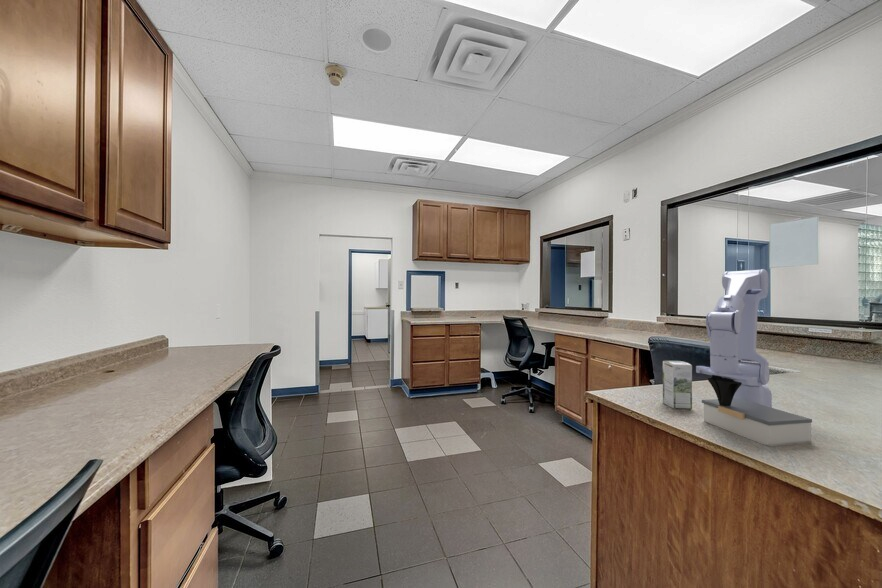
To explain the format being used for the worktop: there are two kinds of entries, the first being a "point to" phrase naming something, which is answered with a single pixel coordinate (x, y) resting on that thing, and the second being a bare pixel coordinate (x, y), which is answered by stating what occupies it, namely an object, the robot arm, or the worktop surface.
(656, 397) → the worktop surface
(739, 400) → the lid
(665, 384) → the syrup box
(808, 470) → the worktop surface
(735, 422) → the storage box
